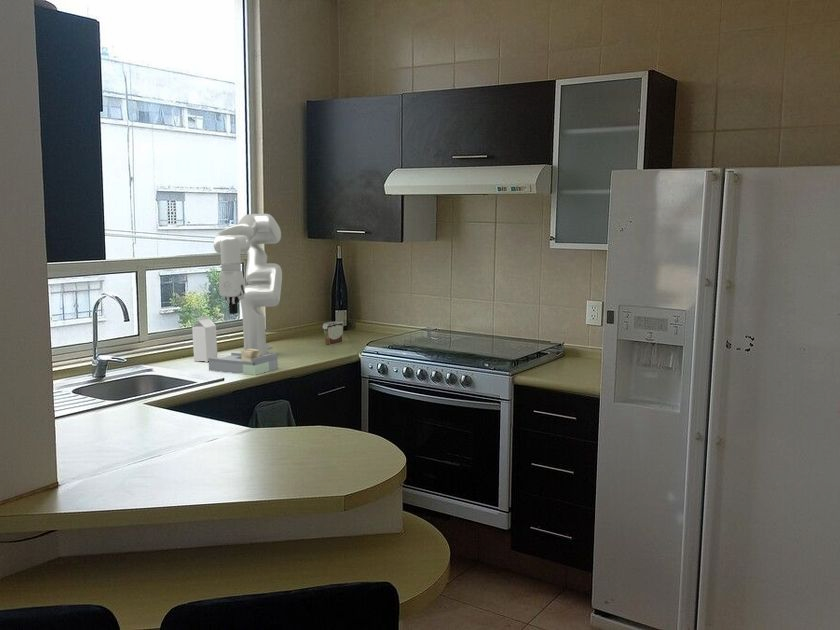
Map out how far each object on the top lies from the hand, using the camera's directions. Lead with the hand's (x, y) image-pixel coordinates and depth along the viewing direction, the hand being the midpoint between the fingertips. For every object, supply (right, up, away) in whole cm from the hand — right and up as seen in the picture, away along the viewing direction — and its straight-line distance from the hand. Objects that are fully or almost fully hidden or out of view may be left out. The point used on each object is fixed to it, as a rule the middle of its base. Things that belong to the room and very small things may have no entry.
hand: (233, 313), depth 322 cm
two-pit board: (+3, -23, +4) cm, 23 cm away
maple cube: (+7, -20, -3) cm, 21 cm away
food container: (+32, -15, +64) cm, 73 cm away
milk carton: (-18, -21, +26) cm, 38 cm away
